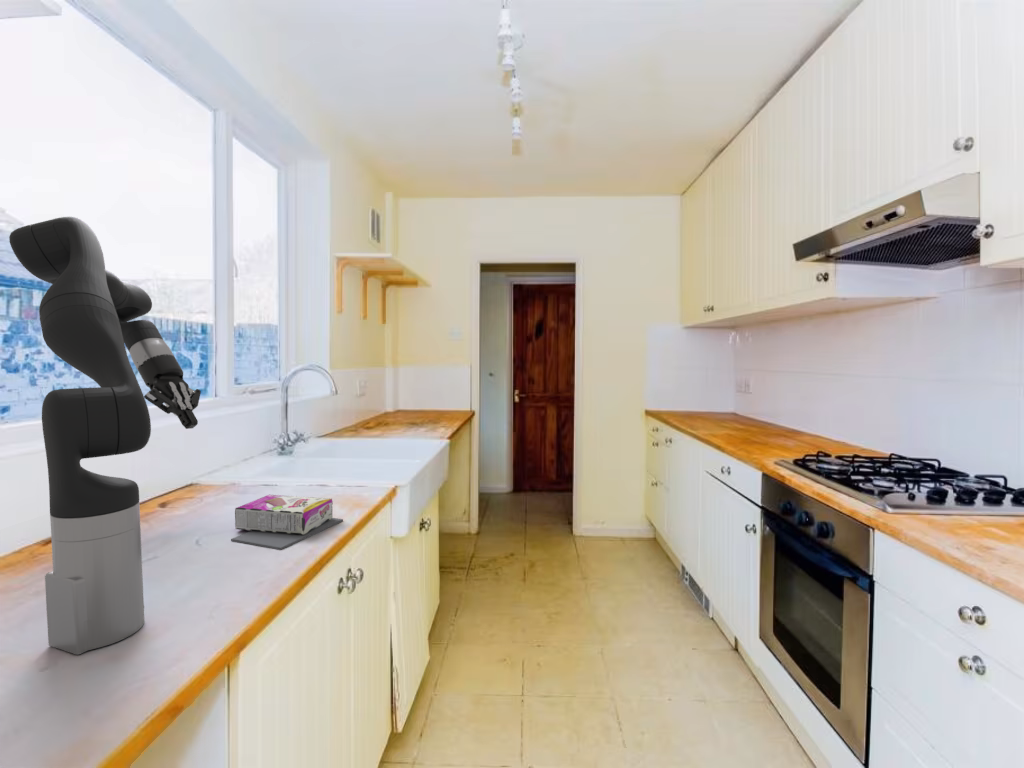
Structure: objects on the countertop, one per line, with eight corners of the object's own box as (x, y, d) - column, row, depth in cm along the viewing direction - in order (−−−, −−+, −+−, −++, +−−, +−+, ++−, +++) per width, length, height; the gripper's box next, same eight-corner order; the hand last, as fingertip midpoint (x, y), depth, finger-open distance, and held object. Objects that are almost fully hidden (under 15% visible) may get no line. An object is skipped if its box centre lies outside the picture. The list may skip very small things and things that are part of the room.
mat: (280, 549, 98) (280, 547, 98) (231, 540, 102) (230, 538, 102) (343, 520, 114) (343, 519, 114) (297, 514, 119) (297, 512, 119)
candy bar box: (268, 492, 118) (333, 497, 114) (269, 514, 118) (333, 519, 115) (233, 506, 107) (303, 512, 103) (233, 530, 107) (304, 536, 104)
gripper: (171, 373, 121) (205, 433, 119) (116, 371, 108) (153, 438, 106) (192, 355, 120) (227, 415, 117) (139, 350, 107) (177, 418, 104)
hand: (192, 426), depth 111 cm, fingers closed
